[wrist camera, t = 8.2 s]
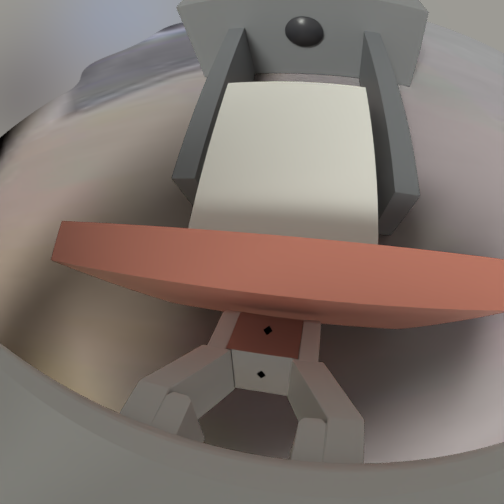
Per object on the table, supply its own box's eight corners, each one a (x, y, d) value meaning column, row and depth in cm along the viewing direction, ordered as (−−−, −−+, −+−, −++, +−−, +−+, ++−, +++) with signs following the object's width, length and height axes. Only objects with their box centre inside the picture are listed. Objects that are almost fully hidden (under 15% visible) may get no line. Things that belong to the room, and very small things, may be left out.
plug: (179, 304, 16) (50, 260, 7) (218, 130, 19) (170, 19, 10) (394, 329, 13) (511, 310, 4) (389, 140, 17) (424, 21, 7)
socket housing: (157, 216, 18) (83, 149, 11) (215, 54, 23) (192, -10, 15) (439, 241, 14) (512, 174, 7) (400, 61, 19) (413, -7, 12)
